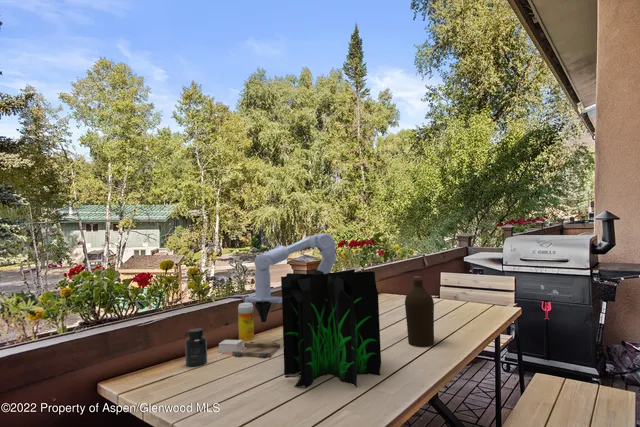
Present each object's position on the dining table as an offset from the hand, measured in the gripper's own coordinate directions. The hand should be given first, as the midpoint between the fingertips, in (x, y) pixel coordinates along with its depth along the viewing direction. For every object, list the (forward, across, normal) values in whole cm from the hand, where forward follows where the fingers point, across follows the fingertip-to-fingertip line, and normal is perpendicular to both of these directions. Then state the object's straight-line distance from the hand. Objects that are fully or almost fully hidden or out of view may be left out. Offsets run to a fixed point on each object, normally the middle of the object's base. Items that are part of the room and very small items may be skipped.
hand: (263, 321), depth 142 cm
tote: (+9, -10, -7) cm, 15 cm away
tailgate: (+9, -6, -8) cm, 14 cm away
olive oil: (+10, +58, +12) cm, 60 cm away
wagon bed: (+10, 0, -8) cm, 12 cm away
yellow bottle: (+10, -11, +8) cm, 17 cm away
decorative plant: (+10, +30, -19) cm, 37 cm away
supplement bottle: (+10, -16, -21) cm, 28 cm away
